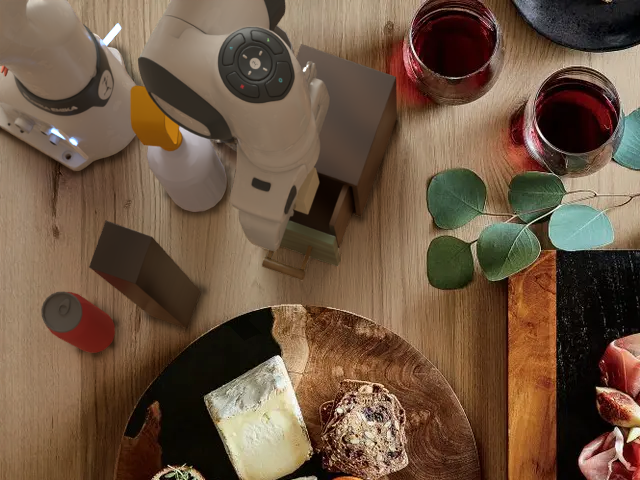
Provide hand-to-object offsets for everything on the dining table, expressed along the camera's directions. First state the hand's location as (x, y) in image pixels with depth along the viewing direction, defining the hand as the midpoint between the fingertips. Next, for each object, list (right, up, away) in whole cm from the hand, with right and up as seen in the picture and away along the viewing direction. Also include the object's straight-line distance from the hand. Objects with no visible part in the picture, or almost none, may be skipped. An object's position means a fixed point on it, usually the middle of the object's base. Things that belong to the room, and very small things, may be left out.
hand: (295, 188), depth 107 cm
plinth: (-20, -11, +16) cm, 27 cm away
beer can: (-32, -15, +16) cm, 39 cm away
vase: (-11, +15, +16) cm, 24 cm away
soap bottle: (-16, +7, +16) cm, 24 cm away
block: (0, 0, +1) cm, 1 cm away
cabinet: (+4, +11, +15) cm, 19 cm away
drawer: (+1, +1, +14) cm, 14 cm away
